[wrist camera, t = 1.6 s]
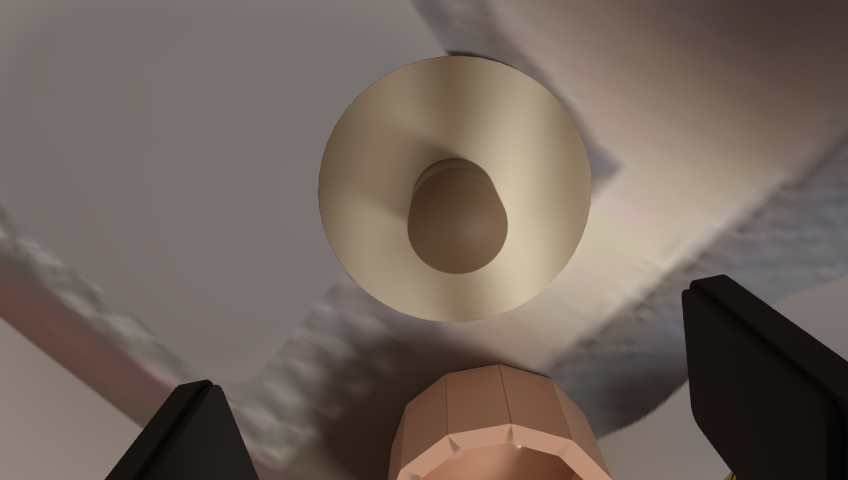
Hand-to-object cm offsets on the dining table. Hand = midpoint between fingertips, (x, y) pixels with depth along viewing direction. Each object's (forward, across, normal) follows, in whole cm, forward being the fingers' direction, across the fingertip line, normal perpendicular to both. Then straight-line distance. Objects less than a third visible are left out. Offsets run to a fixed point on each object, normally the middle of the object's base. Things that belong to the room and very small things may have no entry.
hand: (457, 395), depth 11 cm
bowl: (+16, 0, +15) cm, 22 cm away
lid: (+16, -1, 0) cm, 17 cm away
